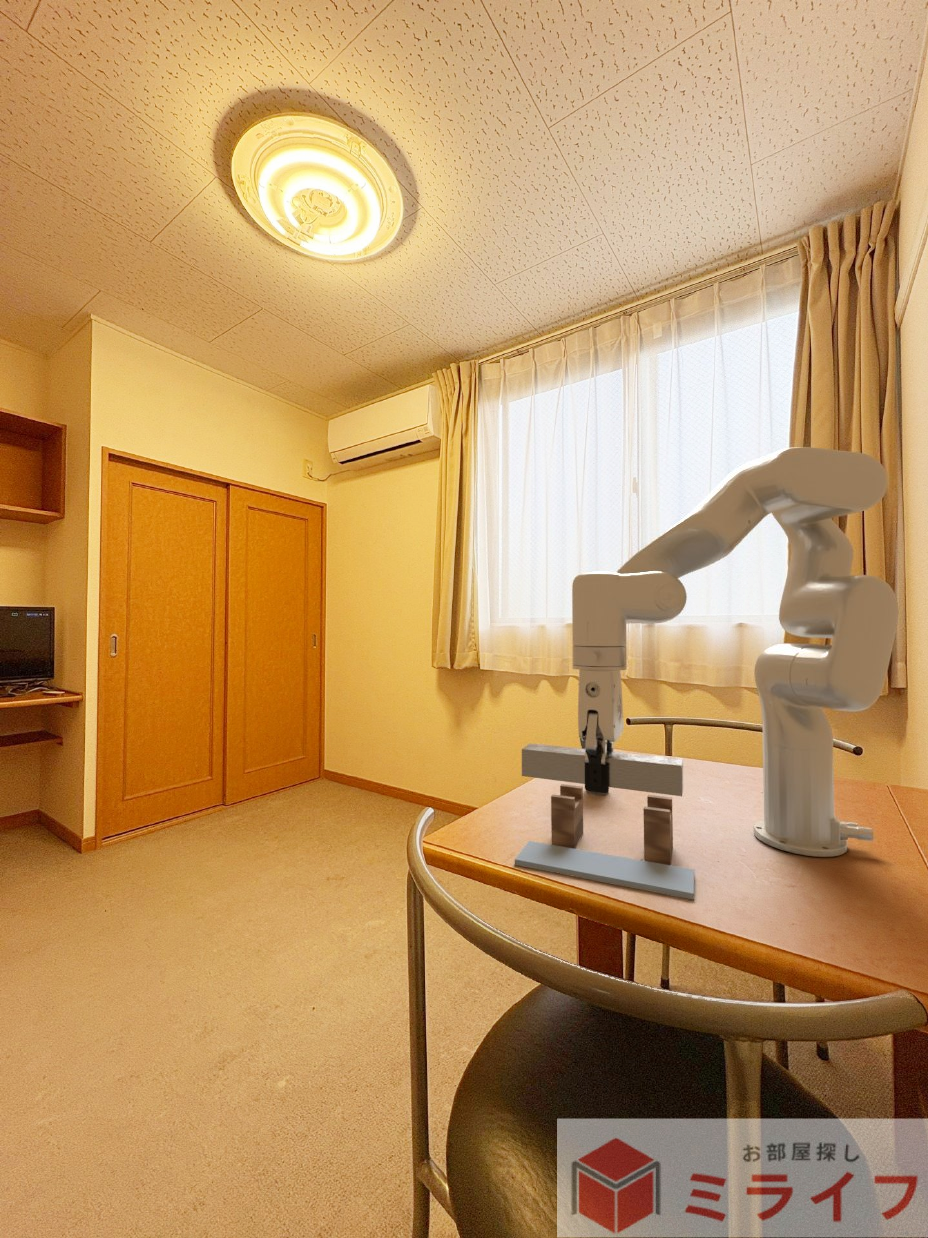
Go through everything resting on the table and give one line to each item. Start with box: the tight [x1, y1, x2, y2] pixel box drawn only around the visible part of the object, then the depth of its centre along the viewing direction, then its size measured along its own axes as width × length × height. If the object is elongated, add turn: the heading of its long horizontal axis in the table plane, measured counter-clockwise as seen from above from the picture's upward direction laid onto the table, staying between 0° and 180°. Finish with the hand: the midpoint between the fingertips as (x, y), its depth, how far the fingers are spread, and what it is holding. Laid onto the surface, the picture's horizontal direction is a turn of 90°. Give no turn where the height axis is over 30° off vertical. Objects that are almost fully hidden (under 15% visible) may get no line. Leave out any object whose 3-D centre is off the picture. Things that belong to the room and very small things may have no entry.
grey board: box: [514, 840, 695, 901], centre depth 74 cm, size 24×7×1 cm, turn 65°
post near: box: [643, 794, 674, 866], centre depth 79 cm, size 4×7×8 cm, turn 155°
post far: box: [550, 783, 584, 849], centre depth 84 cm, size 4×7×8 cm, turn 155°
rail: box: [521, 743, 684, 797], centre depth 74 cm, size 22×4×4 cm, turn 65°
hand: (599, 785), depth 74 cm, fingers closed on rail, 4 cm apart
